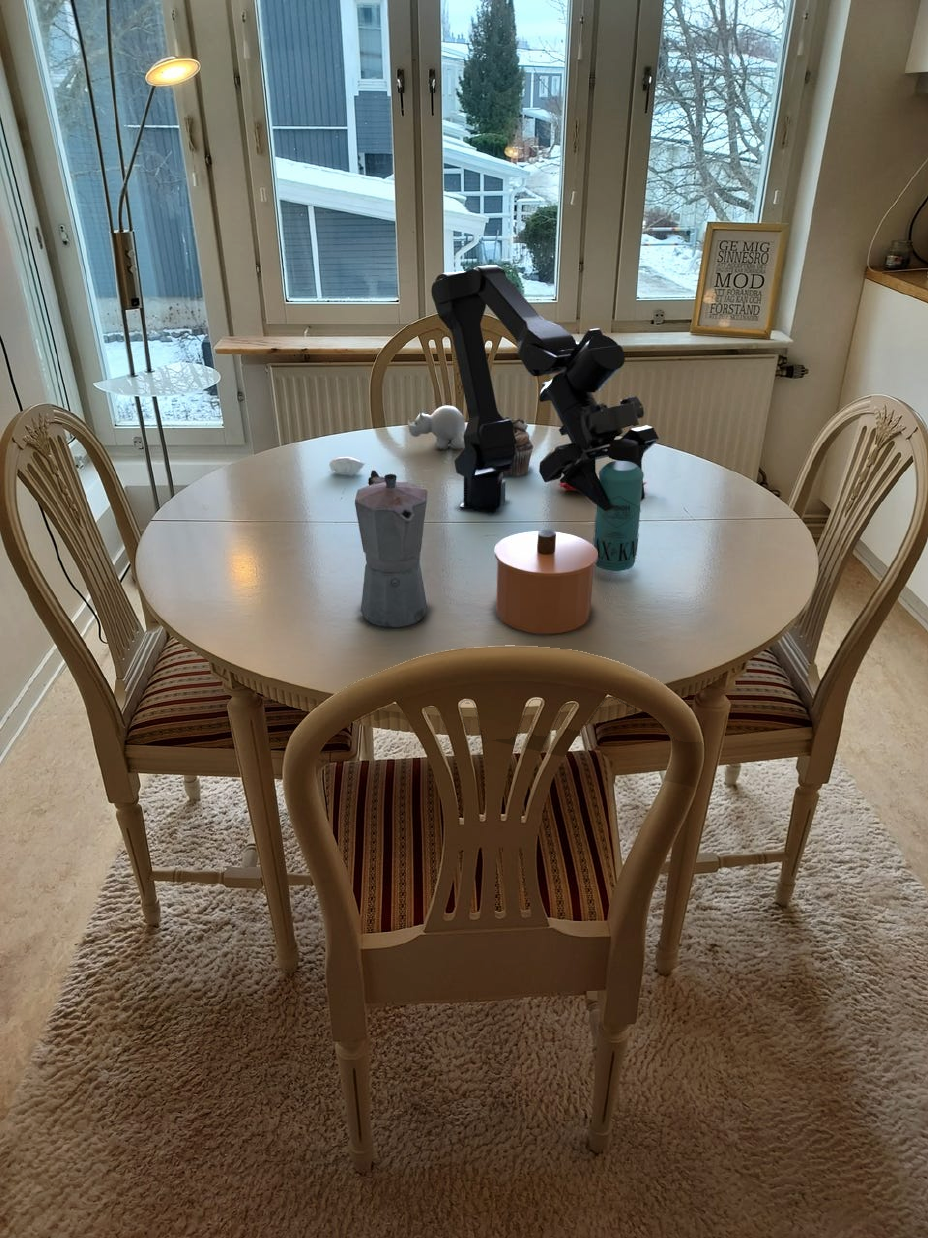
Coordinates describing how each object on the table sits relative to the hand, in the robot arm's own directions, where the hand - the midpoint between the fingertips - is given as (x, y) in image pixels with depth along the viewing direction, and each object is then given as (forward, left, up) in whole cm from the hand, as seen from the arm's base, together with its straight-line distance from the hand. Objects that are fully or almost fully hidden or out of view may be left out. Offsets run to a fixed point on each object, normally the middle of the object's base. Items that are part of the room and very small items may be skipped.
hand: (625, 504), depth 122 cm
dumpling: (-58, +25, -11) cm, 65 cm away
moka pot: (-26, -23, -11) cm, 36 cm away
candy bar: (-10, +35, -11) cm, 38 cm away
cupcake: (-30, +39, -11) cm, 51 cm away
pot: (-7, -15, -11) cm, 20 cm away
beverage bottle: (-1, +1, -11) cm, 11 cm away
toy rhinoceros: (-49, +48, -11) cm, 70 cm away
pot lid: (-7, -15, -3) cm, 17 cm away
